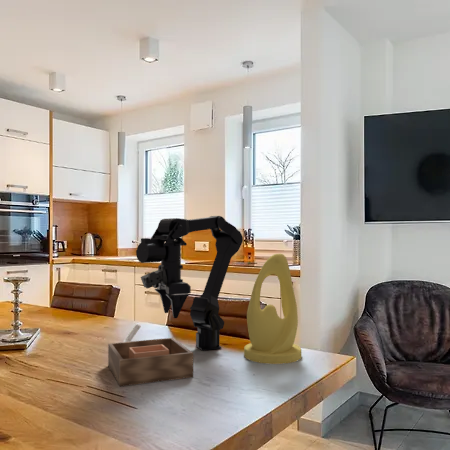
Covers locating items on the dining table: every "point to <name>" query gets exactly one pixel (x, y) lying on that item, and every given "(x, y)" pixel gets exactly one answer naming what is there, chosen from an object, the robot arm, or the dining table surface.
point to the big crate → (149, 362)
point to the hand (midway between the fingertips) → (170, 315)
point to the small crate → (148, 351)
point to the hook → (133, 332)
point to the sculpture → (273, 319)
